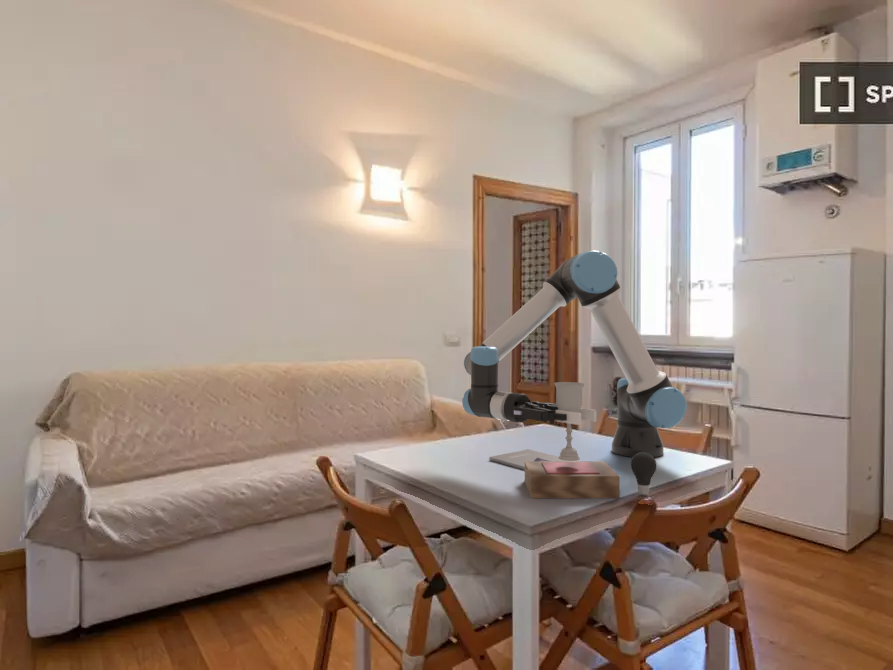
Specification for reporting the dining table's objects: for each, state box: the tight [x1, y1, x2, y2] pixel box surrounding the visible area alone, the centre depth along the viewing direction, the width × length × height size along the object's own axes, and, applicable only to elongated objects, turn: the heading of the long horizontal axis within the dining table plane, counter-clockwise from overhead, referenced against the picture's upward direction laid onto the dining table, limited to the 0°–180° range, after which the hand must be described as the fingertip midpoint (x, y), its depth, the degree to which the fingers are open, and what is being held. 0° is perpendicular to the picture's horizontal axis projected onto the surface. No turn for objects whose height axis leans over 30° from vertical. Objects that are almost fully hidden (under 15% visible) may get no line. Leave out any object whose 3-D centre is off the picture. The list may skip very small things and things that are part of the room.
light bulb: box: [630, 452, 657, 497], centre depth 129 cm, size 6×6×10 cm
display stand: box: [524, 460, 621, 499], centre depth 134 cm, size 20×14×5 cm
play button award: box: [488, 449, 565, 471], centre depth 161 cm, size 16×2×20 cm
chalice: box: [553, 381, 585, 461], centre depth 134 cm, size 7×7×18 cm
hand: (587, 417), depth 130 cm, fingers closed on chalice, 6 cm apart
